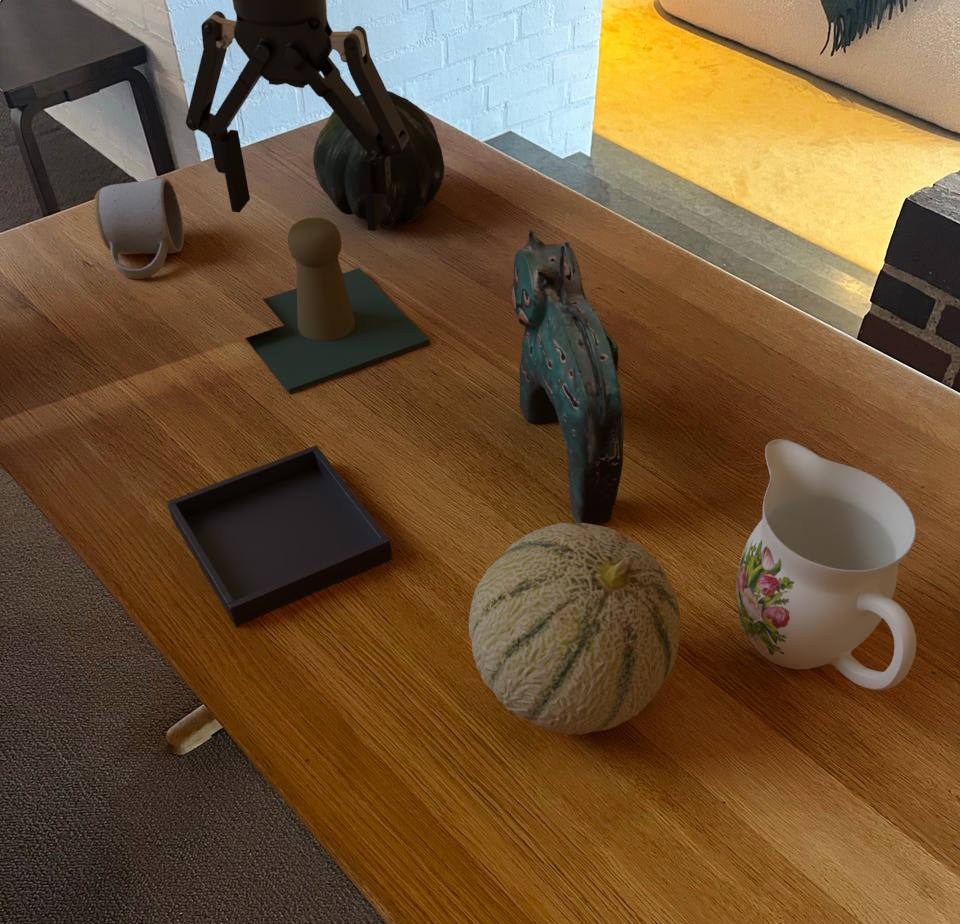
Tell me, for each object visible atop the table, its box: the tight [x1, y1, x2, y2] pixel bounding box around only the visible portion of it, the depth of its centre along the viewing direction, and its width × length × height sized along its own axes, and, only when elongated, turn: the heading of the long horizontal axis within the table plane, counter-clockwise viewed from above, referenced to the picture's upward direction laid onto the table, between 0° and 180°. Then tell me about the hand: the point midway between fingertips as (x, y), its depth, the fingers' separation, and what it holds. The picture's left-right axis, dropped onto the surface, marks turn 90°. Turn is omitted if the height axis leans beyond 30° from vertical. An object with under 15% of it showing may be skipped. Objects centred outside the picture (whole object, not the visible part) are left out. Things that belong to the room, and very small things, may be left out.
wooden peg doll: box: [287, 217, 355, 341], centre depth 100 cm, size 6×6×11 cm
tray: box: [166, 444, 393, 628], centre depth 84 cm, size 14×14×2 cm
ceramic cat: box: [511, 229, 625, 525], centre depth 84 cm, size 20×6×20 cm, turn 14°
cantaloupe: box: [468, 522, 681, 736], centre depth 69 cm, size 15×15×15 cm
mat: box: [245, 267, 431, 395], centre depth 104 cm, size 16×16×1 cm
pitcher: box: [735, 438, 917, 691], centre depth 72 cm, size 11×18×14 cm, turn 24°
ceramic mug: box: [93, 177, 185, 280], centre depth 111 cm, size 11×8×8 cm
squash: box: [312, 90, 445, 228], centre depth 115 cm, size 14×15×15 cm
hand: (307, 214), depth 95 cm, fingers open, 13 cm apart
